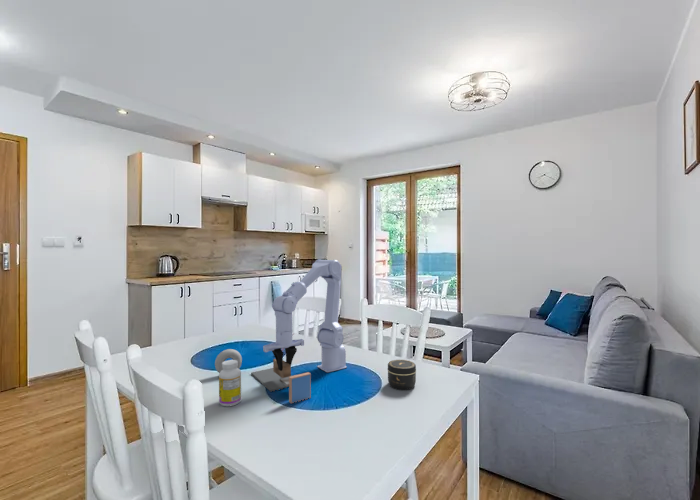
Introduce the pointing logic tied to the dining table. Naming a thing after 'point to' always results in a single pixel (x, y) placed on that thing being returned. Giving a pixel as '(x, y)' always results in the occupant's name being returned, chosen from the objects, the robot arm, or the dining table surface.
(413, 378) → the jar
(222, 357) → the donut
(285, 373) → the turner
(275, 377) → the mat
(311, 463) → the dining table surface
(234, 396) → the supplement bottle
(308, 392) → the tile
